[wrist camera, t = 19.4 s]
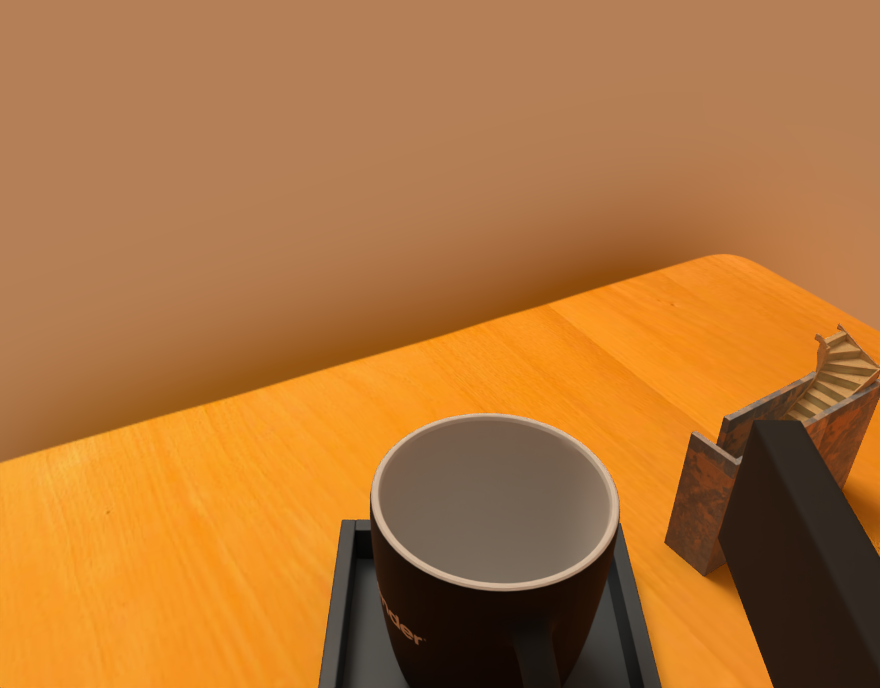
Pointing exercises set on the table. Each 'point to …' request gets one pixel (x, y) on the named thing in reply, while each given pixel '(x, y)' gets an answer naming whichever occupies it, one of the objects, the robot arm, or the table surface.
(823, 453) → the architectural model on board
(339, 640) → the tray
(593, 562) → the mug
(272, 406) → the table surface
